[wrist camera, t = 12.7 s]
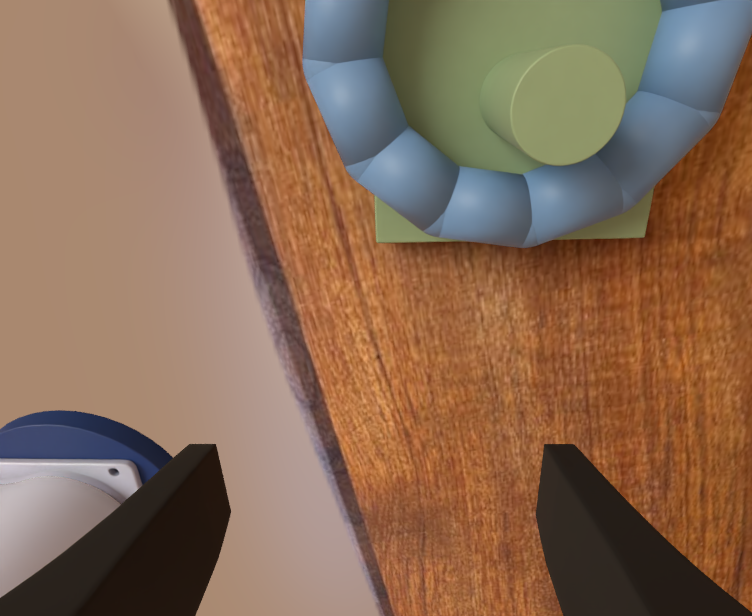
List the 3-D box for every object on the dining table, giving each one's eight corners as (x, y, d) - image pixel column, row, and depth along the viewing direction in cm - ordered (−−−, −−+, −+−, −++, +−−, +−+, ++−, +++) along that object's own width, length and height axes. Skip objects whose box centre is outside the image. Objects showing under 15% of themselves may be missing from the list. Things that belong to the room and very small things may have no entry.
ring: (401, 281, 18) (400, 306, 16) (239, -89, 14) (210, -118, 12) (752, 148, 15) (804, 159, 13) (690, -355, 11) (752, -448, 9)
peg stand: (377, 233, 18) (365, 304, 13) (366, -66, 15) (341, -153, 9) (630, 228, 18) (734, 299, 12) (688, -85, 14) (876, -191, 8)
